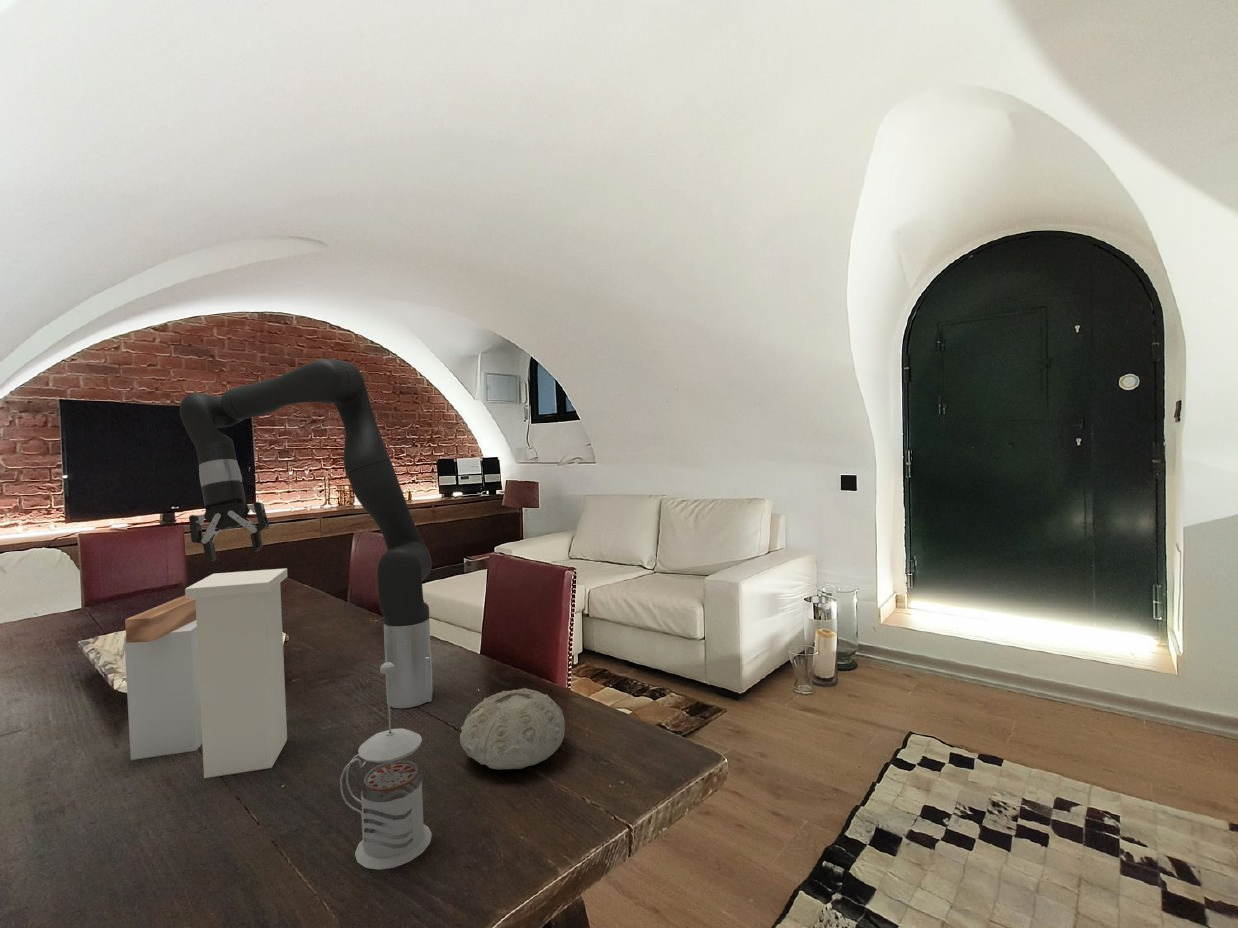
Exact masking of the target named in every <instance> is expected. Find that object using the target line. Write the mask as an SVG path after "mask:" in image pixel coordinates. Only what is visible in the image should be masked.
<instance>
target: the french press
mask: <svg viewBox="0 0 1238 928" xmlns="http://www.w3.org/2000/svg"><path fill="white" fill-rule="evenodd" d="M394 671H395V666H394V664H392V663H391V662H386V663H385V662H384V663H382V664H381V665H380V669H379V673H380V674H384V675H386V674H387V686H388V705H387V706H388V707H387V709H388V729H387V730H383V731H380V732H376V733H375V734H374V735H372V736H371V737H369V738H368V739H366V740H365V741H364V742H363V743H361V744H360V746H359V748H358V750H357V752H358V754H356V755H355V756H353V758H352V759H351V760H350V761H349V762H348V763H347V764H346V765H345V767H344V768H343V770H342V772H341V774H340V779H339V789H340V794H341V797H342V799H343V801H344V803H345V804H346V805H347V806H348V807H349V808H350V809H351V810H353V811H355V812H357V813H359V814H360V817H361V818H360V819H361V820H360V821H361V833H362V840H361V841H360V842H358V845H357V847H356V849H355V853H354V855H355V858H356V862H357V863H358V864H360V865H361V866H362V867H364V868H366V869H372V870H386V869H391V868H392V869H393V868H397V867H399V866H402V865H404V864H407V863H410V862H412V861H414V859H415V858H418V856H421V855H422V854H423V853H424V851H425V850H426V849H427V848H428V846H429V845H430V844H431V841H432V836H433V833H432V832H431V829H430V828H429V826H427V825H426V824H424V806H423V805H424V804H423V803H424V802H423V782H422V776H421V774H420V767H419V765H418V763H416V762H413V761H412V760H406V759H405V758H406V757H408V756H410V755H413V754H414V753H415V752H416V751H417V750H418V749H419V748H420V747H421V744H422V742H423V738H422V736H421V735H420V734H419V733H417V732H414V731H412V730H409V729H407V728H402V727H401V728H392V727H391V726H392V723H391V707H390V694H389V673H392V672H394ZM358 757H360V758H361V759H362V760H364V762H363V763H362V760H361V759H360V758H358ZM403 759H405V760H403ZM356 761H358V764H359V768H363V767H364V766H365V765H366V764H367V762H368V763H378V764H379V765H377V766H374V767H373V768H372V769H370V770H368V772H367V773H366V774H364V777H363V779H362V783H363V786H364V788H365V797H364V788H362V789H361V791H360V799H361V800H360V799H359V798H358V797H357V796H355V795H354V793H353V792H352V790H351V787H350V784H349V770H350V767H351V765H352V764H353V763H354V762H356ZM344 774H346V775H345V778H346V780H345V783H346V787H347V790H348V791H349V794H350V797H352V798H353V799H354V800H355V801H356V802H358V803H360V804H361V809H358V808H357V807H354V806H353V805H352V804H351V803H349V801H348V800H347V798H346V797H345V795H344V794H345V793H344V790H343V778H344ZM410 783H411V784H413V785H414V786H415V787H416V788H414V787H413V786H411V785H410ZM403 787H404V788H405V789H408V790H409V791H410V793H409V792H407V791H406V790H398V789H401V788H403ZM385 792H389V793H386V794H385V795H384V796H383V797H381V795H383V794H384V793H385ZM394 796H403V797H400V798H395V799H393V800H389V801H387V800H388V799H390V798H392V797H394ZM365 810H366V812H365ZM410 810H411V811H410ZM382 813H383V814H382ZM365 820H366V821H365ZM366 829H367V831H366Z"/></svg>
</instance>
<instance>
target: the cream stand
mask: <svg viewBox="0 0 1238 928" xmlns="http://www.w3.org/2000/svg"><path fill="white" fill-rule="evenodd" d="M288 577H289V576H288V568H287V567H286V568H275V569H274V568H273V569H260V570H258V569H257V570H248V571H246V570H244V571H234V572H233V571H232V572H220V573H219V572H218V573H212V574H210V575H208V576H206V577H204V578H202V579H201V580H198V581H196V582H195V583H193V584H191V585H190V586H188V587H186V588H185V589H184V595H185V598H186V599H187V598H195V602H196V623H197V643H198V664H199V684H200V705H201V725H202V744H201V746H202V760H203V761H202V763H203V765H202V766H203V779H208V778H215V777H221V776H225V775H226V776H227V775H233V774H240V773H246V772H252V771H259V770H265V769H272V768H273V766H274V764H275V762H276V761H277V759H278V757H279V755H280V754H281V752H282V750H283V748H284V746H285V745H286V743H287V741H288V730H287V706H286V685H285V682H286V681H285V679H286V678H285V661H284V641H283V640H284V639H283V638H284V637H283V615H282V594H281V590H282V587H281V583H282V582H283V581H284V580H285V579H287V578H288Z"/></svg>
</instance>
